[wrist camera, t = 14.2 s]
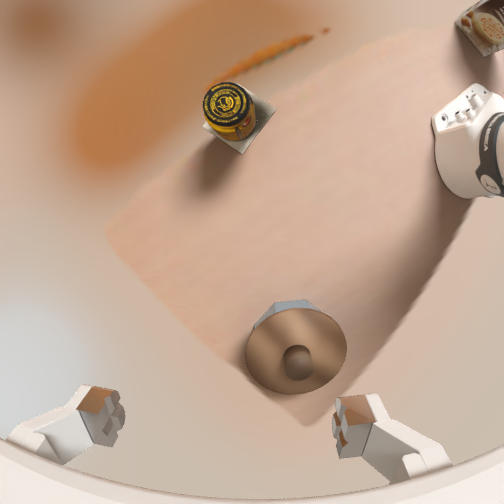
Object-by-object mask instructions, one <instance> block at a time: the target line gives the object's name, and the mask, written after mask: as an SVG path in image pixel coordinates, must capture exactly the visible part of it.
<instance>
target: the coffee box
mask: <svg viewBox="0 0 504 504" xmlns="http://www.w3.org/2000/svg"><path fill="white" fill-rule="evenodd" d="M454 22H455V24H456V25H457V26H458V27H459V28H460V29H461V30H462V31H463V33H464V34H465V35H466V36H467V37H468V38H469V40H470V41H471V42H472V43H473V44H474V46H475V47H476V48H477V49H478V51H479V52H480V53H481V54H482V56H483V57H485V56H488V55H490V54H492V53H495V52H497V51H500V50H502V49H504V0H481V1H479V2H478V3H476V4H475V5H473V6H471V7H470V8H468V9H467V10H466V11H464V12H463V13H462V14H461V15H460V16H459V17H458V18H457V19H456V20H455V21H454Z"/></svg>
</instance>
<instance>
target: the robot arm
mask: <svg viewBox="0 0 504 504" xmlns="http://www.w3.org/2000/svg"><path fill="white" fill-rule="evenodd" d="M484 93H485V94H484ZM442 117H443V119H444V120H442ZM432 126H433V130H434V133H435V138H436V142H435V157H436V163H437V167H438V170H439V173H440V176H441V178H442V180H443V181H444V183H445V184H446V186H447V187H448V188H449V189H450V190H451V191H452V192H453V193H454V194H456V195H457V196H459V197H462V198H467V199H469V198H475V197H480V196H484V197H488V198H492V197H494V196H501V197H504V99H503V98H502V97H500V96H499V95H497V94H495V93H490V92H489V91H488V90H487V89H486V88H485V87H483V86H482V85H480V84H478V83H473V84H471V85H470V86H469V87H468V88H467V89H465V90H464V91H463V92H462V93H461V94H459V95H458V96H457V97H456V98H455V99H453V100H452V101H451V102H450V103H449V104H447V105H446V106H445V107H444V108H443V109H441V110H440V111H439V112H438V113H436V114H435V115H434V116H433V117H432ZM119 400H120V396H119V393H118V392H117V391H116V390H112V389H107V388H102V387H97V386H91V385H87V384H83V385H81V386H80V388H79V389H78V390H77V391H76V393H75V394H74V395H73V396H72V398H71V399H70V400H69V402H68V403H67V404H66V406H65V407H64V406H61V407H58V408H56V409H54V410H51V411H49V412H46V413H44V414H42V415H40V416H37V417H35V418H32V419H30V420H27V421H25V422H22V423H20V424H18V426H16V428H15V429H14V430H13V431H12V433H11V434H10V435H9V436H8V437H7V439H6V440H4V439H2V438H0V504H504V444H503V445H501V446H499V447H497V448H494V449H492V450H490V451H488V452H486V453H483V454H481V455H479V456H476V457H474V458H472V459H469V460H467V461H464V462H462V463H459V464H456V465H454V466H453V465H452V463H451V462H450V460H449V458H448V456H447V454H446V453H445V451H444V449H443V448H442V446H441V444H439V443H437V442H435V441H433V440H431V439H429V438H427V437H425V436H424V435H422V434H420V433H418V432H416V431H414V430H412V429H411V428H409V427H407V426H405V425H403V424H402V423H400V422H398V421H396V420H391V419H390V417H389V415H388V413H387V411H386V409H385V407H384V405H383V403H382V401H381V399H380V397H379V395H378V394H377V393H370V394H364V395H357V396H348V397H338V398H337V399H336V403H335V407H336V412H335V413H334V414H333V420H332V429H333V435H334V438H336V439H337V444H336V447H337V451H338V455H339V459H341V458H350V457H358V456H362V458H363V459H365V460H366V461H367V462H368V463H369V464H370V465H371V466H373V467H374V468H375V469H376V470H377V471H378V472H380V473H381V474H382V475H383V476H385V477H386V478H387V479H388V480H389V481H390V483H389V485H385V486H381V487H376V488H372V489H366V490H360V491H355V492H349V493H342V494H334V495H326V496H318V497H306V498H293V499H226V498H212V497H200V496H191V495H183V494H176V493H169V492H163V491H157V490H152V489H146V488H141V487H137V486H132V485H128V484H123V483H119V482H115V481H111V480H108V479H104V478H100V477H97V476H94V475H90V474H87V473H84V472H80V471H78V470H75V469H72V468H69V467H66V466H63V465H64V464H66V463H67V462H68V461H70V460H72V459H73V458H75V457H76V456H77V455H79V454H80V453H82V452H83V451H85V450H86V449H88V448H89V447H91V446H92V445H93V443H95V444H99V445H103V446H108V447H113V445H114V443H115V441H116V439H117V437H118V435H117V431H118V430H120V429H122V427H123V425H124V421H125V411H124V408H123V406H122V405H121V404H120V403H119Z"/></svg>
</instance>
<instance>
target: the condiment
mask: <svg viewBox="0 0 504 504" xmlns="http://www.w3.org/2000/svg"><path fill="white" fill-rule="evenodd" d="M203 109H204V115H205V119H206V121H207V122H206V123H205V124H204V125H203V128H204V129H206V130H207V131H209V132H210V133H212V134H213V135H215V136H216V137H218V138H219V139H221V140H222V141H224V142H225V143H227V144H228V145H230V146H231V147H232V148H234V149H236V150H237V151H238V152H240V153H241V154H243V153H244V151H245V150H246V149H247V147H248V146H249V145H250V143H251V142H252V141H253V139H254V138H255V137H256V135H257V134H258V133H259V131H260V130H261V129H262V127H263V126H264V125H265V124H266V122H267V121H268V120H269V118H270V117H271V116H272V114H273V113H274V112H275V111H276V108H274V107H273V106H271V105H270V104H268V103H267V102H265V101H264V100H262V99H261V98H259V97H258V96H256V95H254V94H253V93H251V92H250V91H248V90H247V89H245V88H243V87H242V86H240V85H239V84H237V83H236V84H235V83H231V82H222V83H220V84H217V85H215V86H213V87H212V88H211V89H210V90H209V91H208V92H207V94H206V95H205V97H204V101H203ZM257 120H258V121H257Z"/></svg>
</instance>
